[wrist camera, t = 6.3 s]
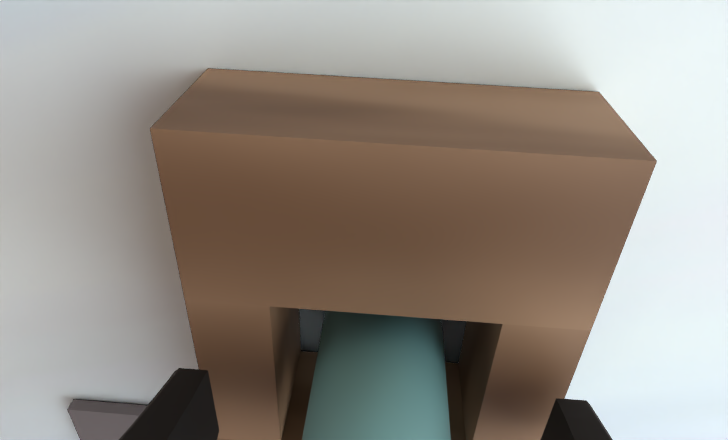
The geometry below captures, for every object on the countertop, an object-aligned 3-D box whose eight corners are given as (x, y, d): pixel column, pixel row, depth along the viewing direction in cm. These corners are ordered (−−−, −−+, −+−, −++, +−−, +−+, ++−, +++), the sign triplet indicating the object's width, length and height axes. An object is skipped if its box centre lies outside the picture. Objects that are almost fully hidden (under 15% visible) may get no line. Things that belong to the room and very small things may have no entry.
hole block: (494, 443, 17) (509, 540, 15) (253, 423, 18) (228, 515, 15) (599, 92, 11) (657, 161, 8) (207, 68, 11) (149, 128, 9)
